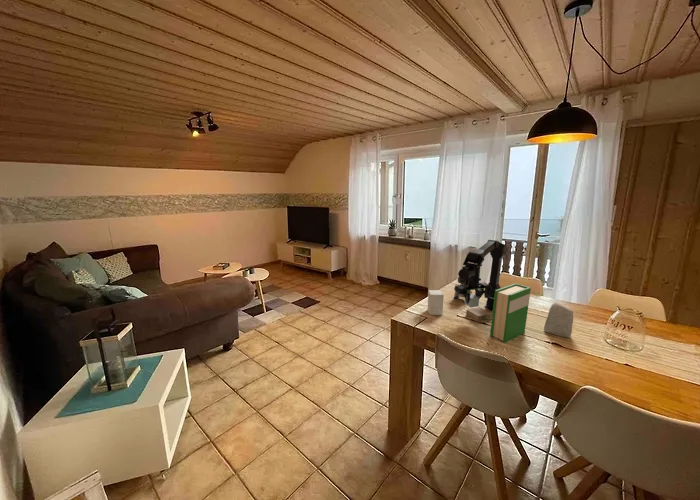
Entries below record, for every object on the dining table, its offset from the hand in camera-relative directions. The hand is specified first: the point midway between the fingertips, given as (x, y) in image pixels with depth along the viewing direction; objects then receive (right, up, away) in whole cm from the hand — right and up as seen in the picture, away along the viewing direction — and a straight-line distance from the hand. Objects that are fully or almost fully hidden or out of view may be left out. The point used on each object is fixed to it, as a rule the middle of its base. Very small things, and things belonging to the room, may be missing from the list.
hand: (471, 303), depth 152 cm
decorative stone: (+37, -13, -12) cm, 41 cm away
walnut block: (+6, -10, +6) cm, 13 cm away
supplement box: (-16, -8, +13) cm, 22 cm away
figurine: (+8, -4, +32) cm, 33 cm away
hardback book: (+13, -14, -12) cm, 22 cm away
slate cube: (0, -1, 0) cm, 1 cm away
